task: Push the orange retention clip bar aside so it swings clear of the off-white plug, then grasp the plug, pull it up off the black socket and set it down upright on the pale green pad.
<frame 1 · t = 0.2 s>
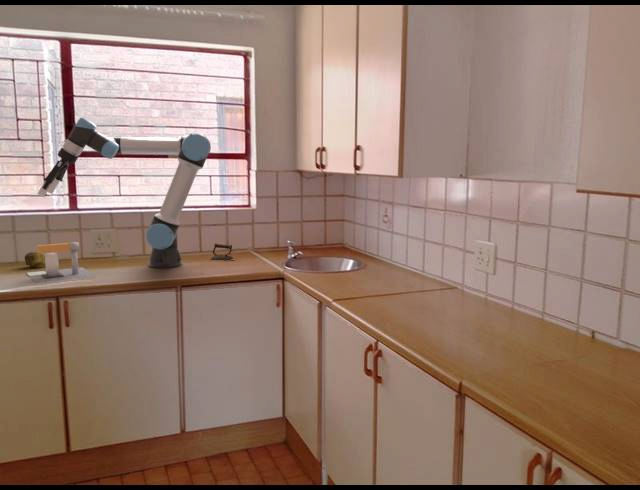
hand: (44, 193, 240), 35 cm above the worktop, tool tilted 30°, fingers open, 13 cm apart
clothes iron: (223, 260, 281), on the worktop
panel: (60, 276, 238), on the worktop
potato: (40, 269, 254), on the worktop
pad: (37, 274, 238), resting on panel
clip: (58, 247, 234), point 13 cm above the worktop, hinge at 0.0°
plug: (52, 274, 234), point 2 cm above the worktop, touching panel
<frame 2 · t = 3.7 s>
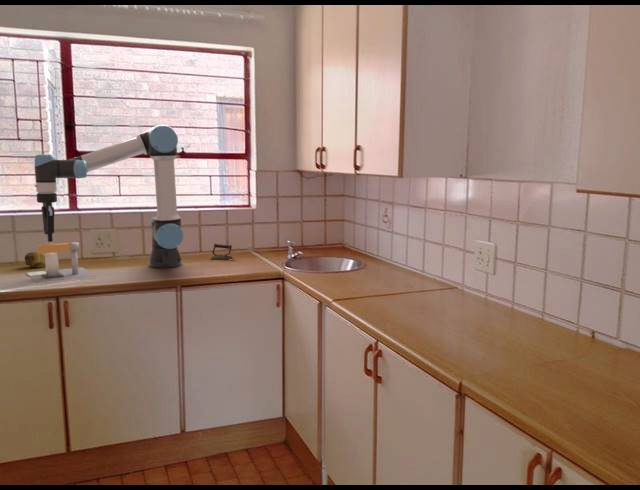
hand: (50, 249, 234), 12 cm above the worktop, tool pointing down, fingers closed
clip: (58, 247, 234), point 13 cm above the worktop, hinge at 0.3°, touching gripper
everything else where it was.
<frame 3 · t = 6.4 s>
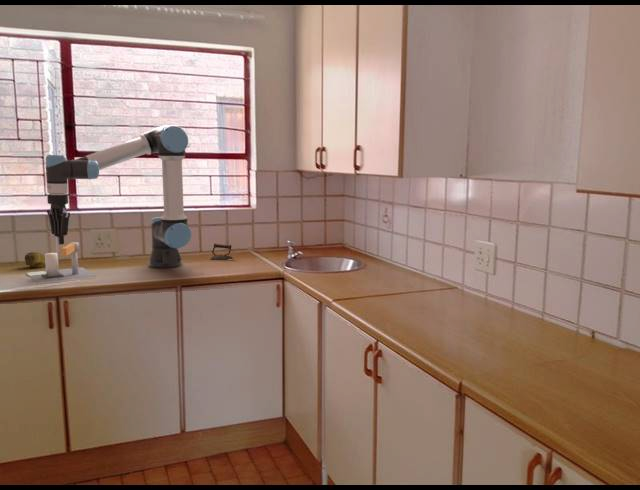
hand: (60, 252, 227), 12 cm above the worktop, tool pointing down, fingers closed
clip: (69, 248, 232), point 13 cm above the worktop, hinge at 61.3°, touching gripper
everything else where it was.
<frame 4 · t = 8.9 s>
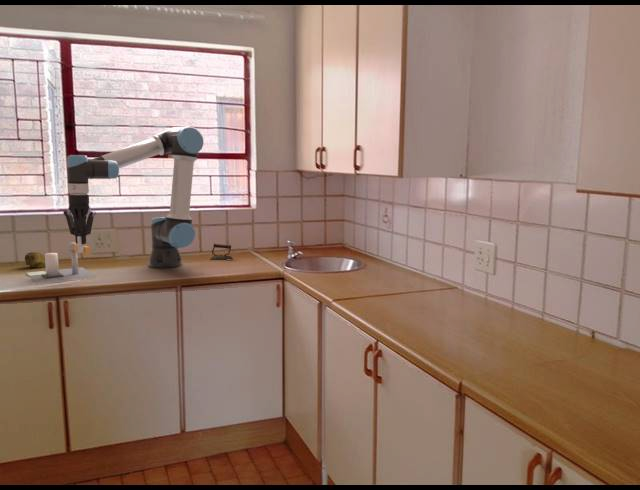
hand: (81, 251, 227), 13 cm above the worktop, tool pointing down, fingers closed
clip: (79, 248, 234), point 13 cm above the worktop, hinge at 98.6°, touching gripper
everything else where it was.
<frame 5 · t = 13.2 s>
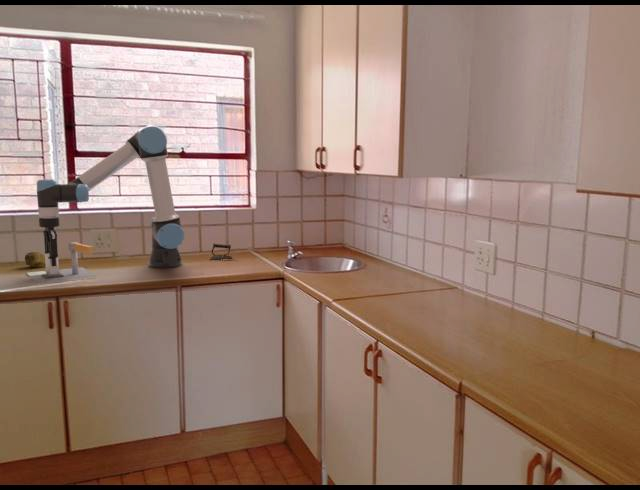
hand: (52, 272, 234), 3 cm above the worktop, tool pointing down, fingers closed on plug, 5 cm apart
clip: (81, 248, 234), point 13 cm above the worktop, hinge at 103.8°
plug: (52, 274, 234), point 2 cm above the worktop, touching gripper
everything else where it was.
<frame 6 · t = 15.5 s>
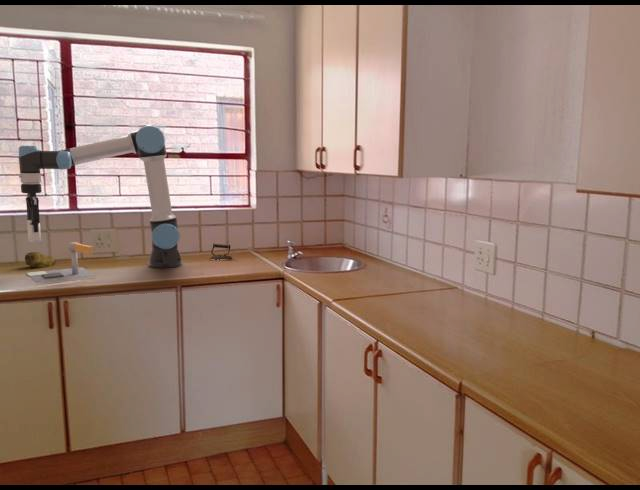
hand: (34, 238, 235), 16 cm above the worktop, tool pointing down, fingers closed on plug, 5 cm apart
plug: (34, 241, 235), point 15 cm above the worktop, touching gripper
when the fingers open (4 cm above the worktop, at t = 17.9 s): plug drops 1 cm, resting on pad.
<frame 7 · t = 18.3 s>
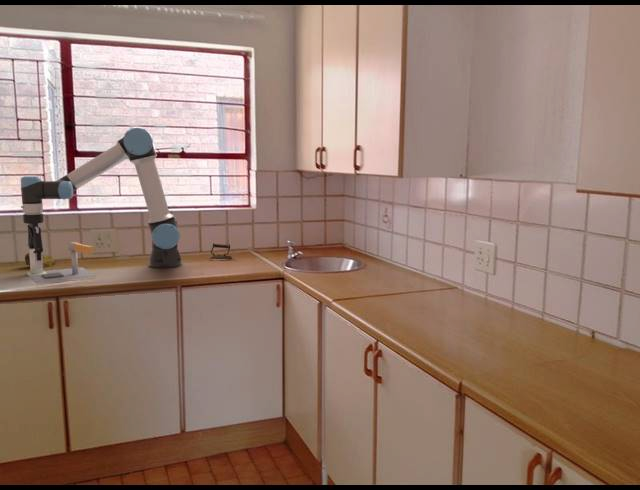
hand: (36, 265, 237), 5 cm above the worktop, tool pointing down, fingers open, 10 cm apart
plug: (37, 273, 238), point 1 cm above the worktop, touching pad
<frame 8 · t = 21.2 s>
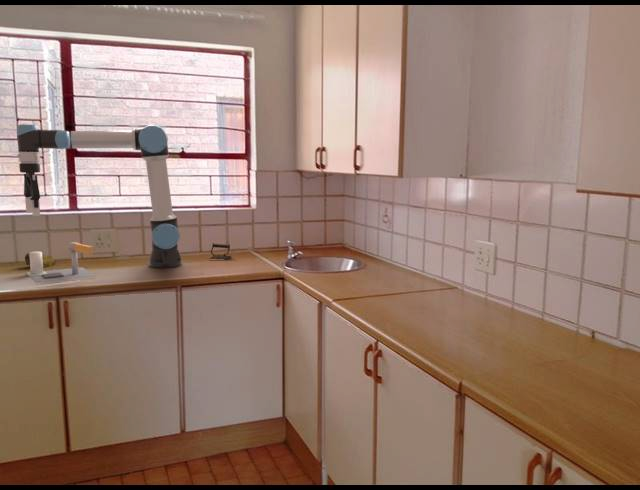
hand: (33, 214, 233), 27 cm above the worktop, tool pointing down, fingers open, 13 cm apart
at the end: clip at +104° (first picture: +0°); plug inside the target area (0.1 cm from its centre), point 1.4 cm above the worktop; plug tilted 0° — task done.
